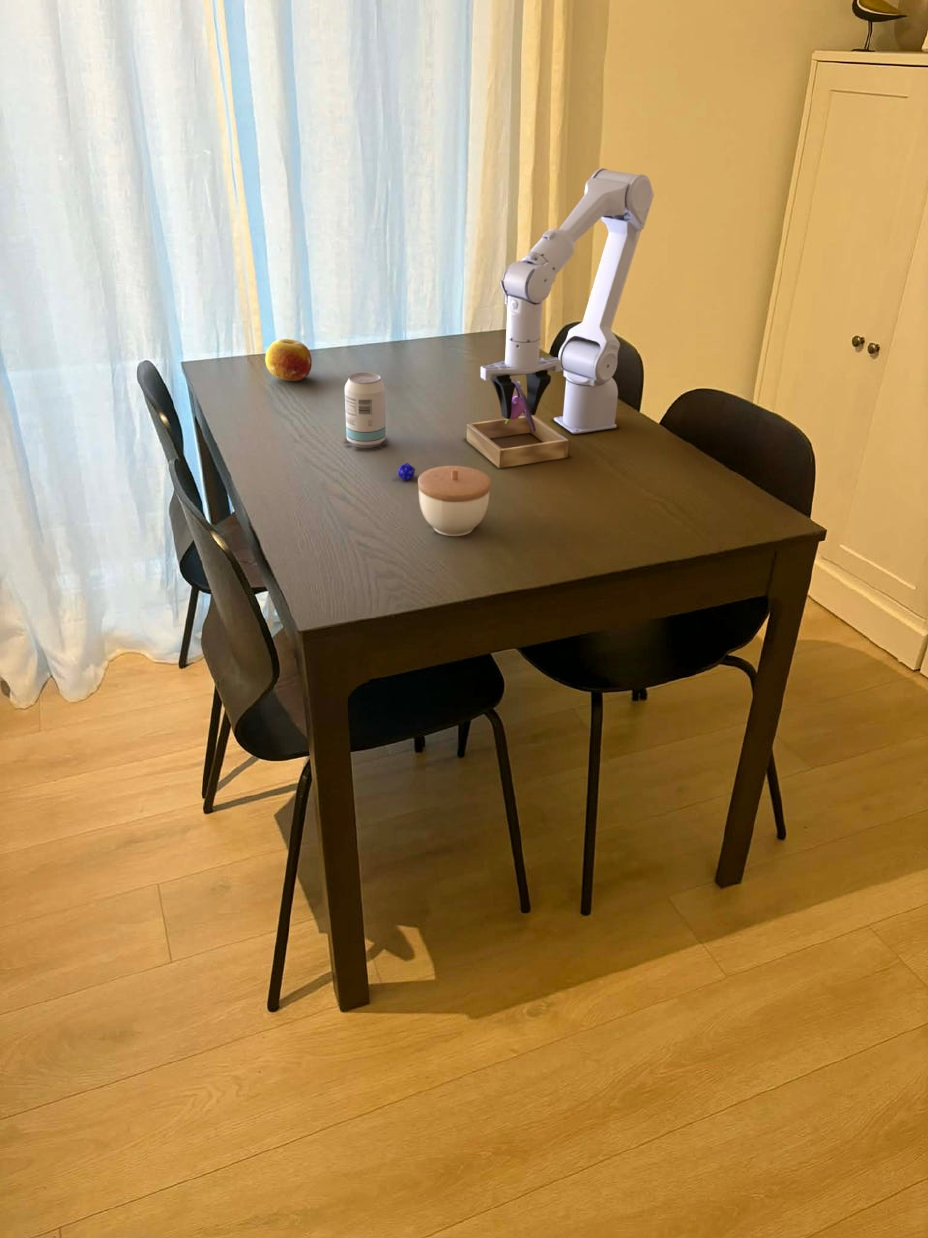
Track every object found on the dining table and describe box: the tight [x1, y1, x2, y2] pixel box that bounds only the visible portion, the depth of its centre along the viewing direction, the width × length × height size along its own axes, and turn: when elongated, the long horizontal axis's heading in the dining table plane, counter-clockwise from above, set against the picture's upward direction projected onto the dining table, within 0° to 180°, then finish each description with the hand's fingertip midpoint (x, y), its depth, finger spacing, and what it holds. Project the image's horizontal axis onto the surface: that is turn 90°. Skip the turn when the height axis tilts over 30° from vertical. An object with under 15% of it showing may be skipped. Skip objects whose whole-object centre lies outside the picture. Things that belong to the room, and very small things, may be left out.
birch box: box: [466, 415, 570, 469], centre depth 174 cm, size 13×13×3 cm
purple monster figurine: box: [505, 378, 536, 431], centre depth 171 cm, size 7×5×9 cm
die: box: [397, 462, 416, 482], centre depth 162 cm, size 3×3×3 cm
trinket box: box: [417, 465, 492, 537], centre depth 146 cm, size 11×11×9 cm
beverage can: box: [344, 371, 386, 449], centre depth 172 cm, size 7×7×12 cm
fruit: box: [264, 338, 313, 382], centre depth 201 cm, size 10×9×8 cm
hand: (518, 415), depth 171 cm, fingers closed on purple monster figurine, 4 cm apart
